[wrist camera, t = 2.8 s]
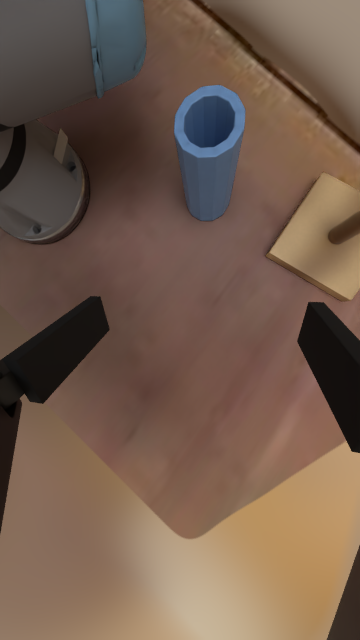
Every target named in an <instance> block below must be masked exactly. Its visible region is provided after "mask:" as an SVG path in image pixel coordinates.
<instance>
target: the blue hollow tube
mask: <svg viewBox="0 0 360 640" xmlns="http://www.w3.org/2000/svg"><path fill="white" fill-rule="evenodd" d="M244 125H245V108H244V106H243V104H242V102H241V101H240V99H239V97H238V95H237V94H236V93H235V92H233V91H231V90H229V89H227V88H225V87H223V86H220V85H214V86H203V87H202V88H199V89H198V90H196V91H195V92H193V93H192V94H190V95H189V96H187V97H186V98H185V99H184V101H183V102H182V104H181V106H180V108H179V109H178V111H177V113H176V115H175V126H174V135H175V141H176V146H177V152H178V158H179V163H180V169H181V175H182V181H183V186H184V192H185V198H186V203H187V207H188V209H189V211H190V213H191V215H192V216H194V217H196V218H197V219H199V220H201V221H213V220H215V219H216V218H218V217H220V216H222V215H223V213H224V212H225V210H226V209H227V207H228V205H229V201H230V196H231V192H232V187H233V182H234V177H235V172H236V167H237V162H238V157H239V152H240V147H241V142H242V137H243V133H244Z"/></svg>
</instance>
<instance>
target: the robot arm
mask: <svg viewBox="0 0 360 640" xmlns="http://www.w3.org/2000/svg"><path fill="white" fill-rule="evenodd" d="M145 54H146V28H145V17H144V7H143V0H0V228H2V229H3V230H4V231H5V232H7V233H8V234H10V235H12V236H14V237H16V238H19V239H21V240H24V241H26V242H29V243H34V244H48V243H52V242H55V241H58V240H60V239H62V238H64V237H65V236H67V235H68V234H69V233H70V232H71V231H73V230H74V228H75V227H76V226H77V225H78V224H79V222H80V221H81V219H82V217H83V215H84V213H85V211H86V208H87V205H88V201H89V195H90V183H89V177H88V173H87V170H86V167H85V165H84V163H83V161H82V160H81V158H80V157H79V156H78V154H77V153H76V152H75V150H74V149H73V148H72V147H71V145H70V144H69V143H68V142H67V141H68V137H67V136H66V135H65V133H64V132H63V131H62V129H61V128H60V131H59V135H58V134H56V133H55V132H53V131H52V130H50V129H49V128H47V127H46V126H45V125H43V124H42V123H40V122H39V121H37V120H36V119H37V118H40V117H43V116H45V115H48V114H51V113H53V112H56V111H59V110H61V109H64V108H67V107H69V106H72V105H74V104H77V103H80V102H82V101H85V100H88V99H90V98H93V97H96V96H97V97H98V99H99V98H102V97H103V95H104V92H105V91H107V90H110V89H112V88H114V87H116V86H118V85H120V84H122V83H124V82H126V81H129V80H131V79H133V78H134V77H135V76H136V75H137V74H138V73H139V72H140V70H141V68H142V66H143V63H144V59H145ZM109 330H110V329H109V325H108V322H107V318H106V315H105V311H104V308H103V304H102V301H101V297H97V296H90V297H89V298H88V299H86V300H85V301H83V302H82V303H80V304H79V305H78V306H76V307H75V308H73V309H72V310H71V311H69V312H68V313H66V314H65V315H64V316H62V317H61V318H59V319H58V320H57V321H55V322H54V323H52V324H51V325H49V326H48V327H47V328H45V329H44V330H42V331H41V332H40V333H38V334H37V335H35V336H34V337H32V338H31V339H30V340H28V341H27V342H25V343H24V344H23V345H21V346H20V347H18V348H17V349H16V350H14V351H13V352H11V353H10V354H9V355H7V356H6V357H4V358H3V359H1V360H0V532H1V526H2V520H3V514H4V508H5V503H6V497H7V490H8V484H9V479H10V472H11V467H12V461H13V455H14V449H15V443H16V437H17V431H18V425H19V419H20V413H21V407H22V402H21V400H20V399H19V398H20V397H21V396H22V395H23V394H24V393H25V395H26V396H27V398H28V399H29V401H30V402H36V403H42V404H43V403H44V402H45V401H46V400H47V399H48V398H49V397H50V395H51V394H52V393H53V392H54V391H55V390H56V389H57V388H58V387H59V385H60V384H61V383H62V382H63V381H64V380H65V379H66V378H67V377H68V375H69V374H70V373H71V372H72V371H73V370H74V369H75V368H76V367H77V365H78V364H79V363H80V362H81V361H82V360H83V359H84V358H85V357H86V355H87V354H88V353H89V352H90V351H91V350H92V349H93V348H94V347H95V345H96V344H97V343H98V342H99V341H100V340H101V339H102V338H103V337H104V336H105V334H106V333H107V332H108V331H109ZM297 342H298V344H299V346H300V348H301V350H302V352H303V354H304V356H305V358H306V360H307V362H308V364H309V366H310V368H311V370H312V372H313V374H314V376H315V378H316V380H317V382H318V384H319V386H320V388H321V390H322V392H323V394H324V396H325V398H326V400H327V402H328V404H329V406H330V408H331V410H332V412H333V414H334V416H335V418H336V420H337V422H338V424H339V427H340V429H341V431H342V433H343V435H344V437H345V439H346V441H347V443H348V445H349V447H350V449H351V451H352V452H358V453H360V340H359V339H358V338H357V337H356V336H355V335H354V334H353V333H352V332H351V331H350V330H349V329H348V328H347V327H346V326H345V325H344V323H343V322H342V321H341V320H340V319H339V318H338V317H337V316H336V315H335V314H334V313H333V312H332V311H331V310H330V309H329V308H328V307H327V305H326V304H325V303H324V302H308V306H307V309H306V313H305V316H304V320H303V323H302V327H301V330H300V334H299V337H298V340H297ZM327 640H360V546H359V549H358V552H357V555H356V557H355V560H354V563H353V566H352V569H351V572H350V575H349V578H348V580H347V583H346V586H345V589H344V592H343V595H342V598H341V601H340V603H339V606H338V609H337V612H336V615H335V618H334V621H333V624H332V626H331V629H330V632H329V635H328V638H327Z"/></svg>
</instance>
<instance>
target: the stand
mask: <svg viewBox="0 0 360 640" xmlns="http://www.w3.org/2000/svg"><path fill="white" fill-rule="evenodd" d="M266 257H268V258H269V259H271V260H273V261H274V262H276V263H278V264H279V265H281V266H283V267H285V268H286V269H288V270H290V271H291V272H293V273H295V274H296V275H298V276H300V277H301V278H303V279H305V280H306V281H308V282H310V283H312V284H313V285H315V286H317V287H318V288H320V289H322V290H323V291H325V292H327V293H328V294H330V295H332V296H334V297H335V298H337V299H339V300H340V301H351V300H352V298H353V297H354V296H355V294H356V293H357V292H358V290H359V289H360V191H359V190H357V189H355V188H353V187H351V186H349V185H347V184H345V183H343V182H342V181H340V180H338V179H336V178H334V177H332V176H330V175H328V174H326V173H325V172H323V173H322V174H321V175H320V176H319V177H318V179H317V180H316V181H315V183H314V184H313V186H312V187H311V189H310V190H309V192H308V193H307V195H306V196H305V198H304V199H303V201H302V202H301V204H300V205H299V207H298V208H297V210H296V211H295V213H294V214H293V216H292V217H291V219H290V220H289V222H288V223H287V225H286V226H285V228H284V229H283V231H282V232H281V234H280V235H279V237H278V238H277V240H276V241H275V243H274V244H273V246H272V247H271V249H270V250H269V252H268V253H267V255H266Z"/></svg>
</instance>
